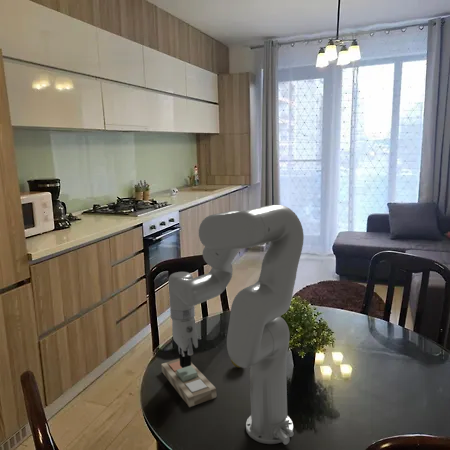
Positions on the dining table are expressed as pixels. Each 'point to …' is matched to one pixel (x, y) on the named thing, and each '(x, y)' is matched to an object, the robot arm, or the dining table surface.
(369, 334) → the dining table surface
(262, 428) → the robot arm
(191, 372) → the sage button
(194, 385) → the offwhite button
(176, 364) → the terracotta button
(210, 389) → the button board
